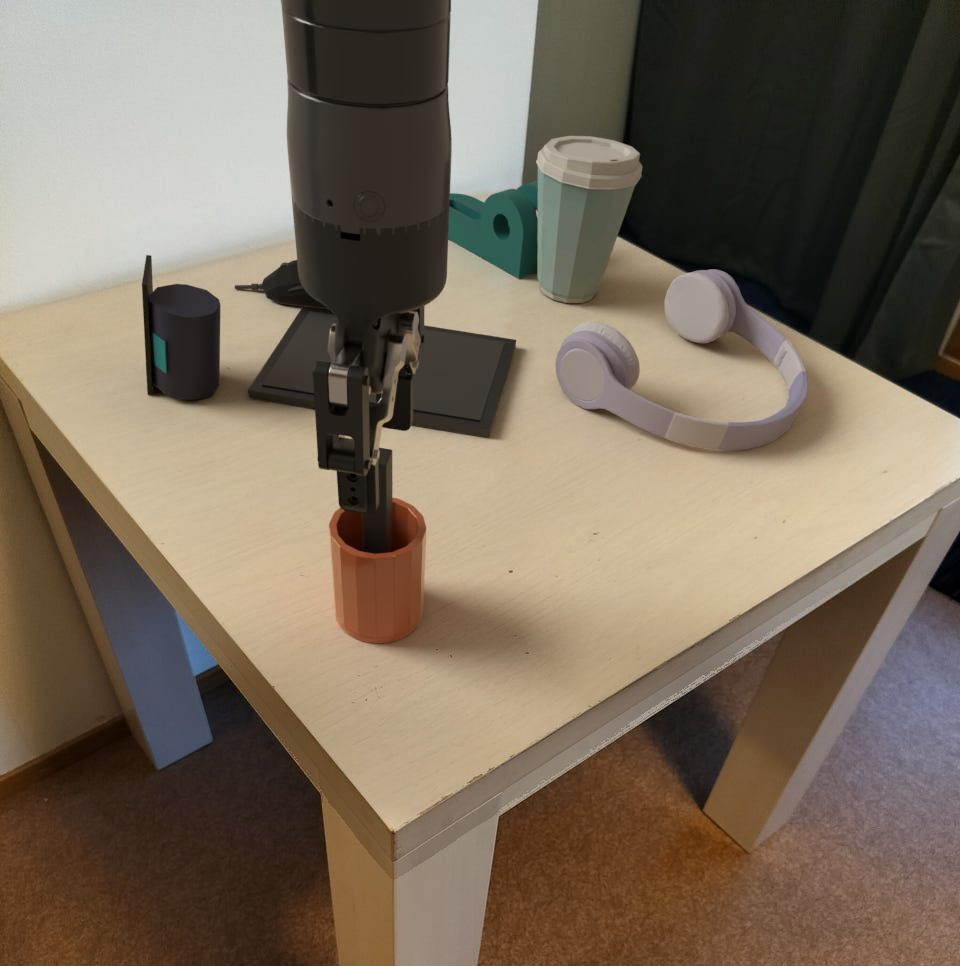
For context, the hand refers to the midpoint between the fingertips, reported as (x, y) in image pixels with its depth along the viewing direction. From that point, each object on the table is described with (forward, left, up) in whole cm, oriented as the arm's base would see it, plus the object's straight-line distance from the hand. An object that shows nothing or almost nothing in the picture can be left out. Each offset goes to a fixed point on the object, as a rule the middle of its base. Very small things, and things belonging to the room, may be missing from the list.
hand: (377, 466), depth 54 cm
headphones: (+22, +36, -13) cm, 44 cm away
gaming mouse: (-19, +43, -13) cm, 49 cm away
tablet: (-7, +31, -13) cm, 34 cm away
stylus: (0, 0, -12) cm, 12 cm away
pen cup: (0, 0, -13) cm, 13 cm away
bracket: (-3, +62, -13) cm, 63 cm away
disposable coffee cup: (+8, +53, -13) cm, 55 cm away
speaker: (-24, +24, -13) cm, 36 cm away
